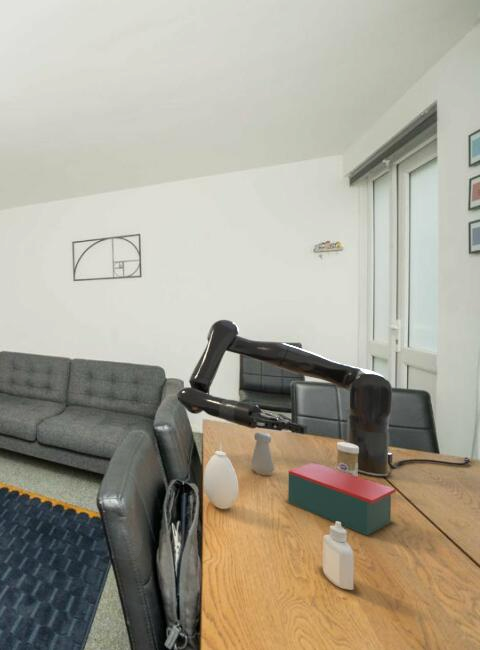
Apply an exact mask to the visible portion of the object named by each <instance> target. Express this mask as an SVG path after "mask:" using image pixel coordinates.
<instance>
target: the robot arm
mask: <svg viewBox="0 0 480 650" xmlns="http://www.w3.org/2000/svg"><path fill="white" fill-rule="evenodd" d="M206 340H207V344H206V346H205V347H204V350H203V352H202V354H201V356H200V358H199V360H198V361H197V363H196V365H195V366H194V369H193V371H192V373H191V375H190V376H189V380H188V383H189V385H190V387H189V386H185V387H182V388H180V389H178V391H177V393H176V398H177V400H178V402H179V403H180V405H182V406H183V407H184V409H185V410H186V411H188V413H191V414H194V415H197V414H200V413H202V412H204V413H205V414H207V415H209V416H211V417H214V418H217V419H220V420H223V421H226V422H229V423H231V424H236V425H239V426H243V427H245V428H250V429H256V428H258V429H264V430H272V431H277V432H278V431H279V432H283V431H290V432H294V433H297V434H301V435H305V434H307V433H308V426H307V425H305V424H300V423H298V422H297V423H296V422H293V419H292V418H290V417H288V416H286V415H284V414H281V413H278V414H277V415H276V414H273V413H271V412H268V411H264V412H262V410H261V407H260V406H259V405H257V404H254V403H253V404H252V403H249V402H245V401H240V400H236V399H230V398H223V397H220V396H215V395H212V394H210V388H211V387H212V384H213V382H214V380H215V378H216V375H217V373H218V370H219V368H220V365H221V363H222V360H223V358H224V356H225V354H226V352H229V353H232V354H237V355H240V356H244V357H247V358H250V359H252V360H255V361H258V362H261V363H265V364H267V365H270V366H273V367H275V368H277V369H281V370H283V371H286V372H289V373H293V374H296V375H300V376H304V377H307V378H308V377H309V378H314V379H319V380H321V381H325V382H327V383H331V384H333V385H336V386H338V387H341V388H343V389H344V390H347V391H349V405H348V407H347V409H346V443H351V444H354V445H357V446H358V447H359V453H358V474H359V473H360V474H363V475H367V476H372V477H379V478H383V477H384V478H385V477H388V476H389V467H390V468H392V469H396V468H399V467H400V466H401V465H402V464H403V463H410V462H411V463H413V462H427V463H437V464H443V465H451V466H466V465H468V464H469V461H470V459H469V458H468V457H464V461H463V462H451V461H443V460H437V459H425V458H411V459H403V460H399V461H398V462H397V463H396V464H395V465H393V464H392V463H393V453H392V452H389V424H390V423H389V422H390V417H391V414H392V405H393V403H392V402H393V387H392V384H391V383H390V381H389V380H388V379H387V378H386V377H385V376H383V375H381V374H379V373H377V372H375V371H372V370H368V369H363V368H359V367H355V366H351V365H348V364H344V363H339V362H336V361H333V360H330V359H327V358H325V357H323V356H321V355H319V354H316V353H314V352H312V351H309V350H305V349H302V348H300V347H297V346H293V345H290V344H287V343H284V342H280V341H279V342H277V341H264V340H263V341H261V340H253V339H248V338H246V337H242V336H239V327H238V326H237V324H236V323H235V322H233V321H231V320H228V319H219V320H217V321H215V322H213V323H212V325H211V326H210V328H209V331H208V333H207V336H206ZM465 459H468V460H469V461H468V460H465Z"/></svg>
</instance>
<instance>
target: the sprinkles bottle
mask: <svg viewBox="0 0 480 650" xmlns="http://www.w3.org/2000/svg"><path fill="white" fill-rule="evenodd" d="M336 451H337V455H336V470H338V471H341V472H344V473H347V474H350V475H353V476H356V477H359V472H358V453H359V447H358V446H357V445H354V444H351V443H347V441H346V442H345V441H338V442H336Z"/></svg>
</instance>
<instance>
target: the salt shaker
mask: <svg viewBox="0 0 480 650" xmlns="http://www.w3.org/2000/svg"><path fill="white" fill-rule="evenodd" d="M254 440H255V445H254V450H253V455H252V458H251V466H252V468H253V470H254V472H255V473H256V474H259V475H261V476H270V475H271V474H272V473H273V472H274V470H275V465H274V461H273V456H272V451H271V447H270V446H271V445H270V443H271V442H272V436H271V435H270V434H268V433H266V432H255V433H254Z"/></svg>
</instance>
